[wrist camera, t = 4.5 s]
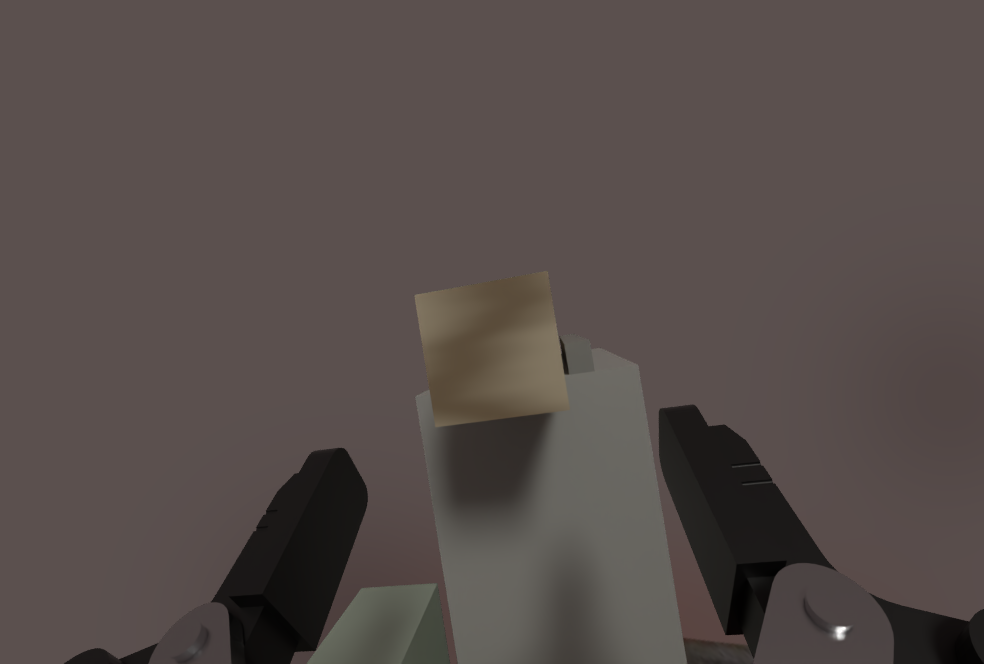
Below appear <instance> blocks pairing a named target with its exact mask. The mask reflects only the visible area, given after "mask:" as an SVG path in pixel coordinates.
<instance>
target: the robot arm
mask: <svg viewBox="0 0 984 664" xmlns="http://www.w3.org/2000/svg"><path fill="white" fill-rule="evenodd" d="M659 456H660V463H661V468H662V472H663V475H664V478H665V481H666V484H667V487H668V489H669V491H670V494H671V497H672V499H673V502H674V504H675V507H676V510H677V512H678V514H679V517H680V520H681V522H682V525H683V527H684V530H685V533H686V535H687V537H688V540H689V543H690V545H691V548H692V550H693V553H694V555H695V558H696V560H697V563H698V566H699V568H700V571H701V573H702V576H703V578H704V581H705V584H706V586H707V589H708V591H709V594H710V596H711V599H712V601H713V604H714V607H715V609H716V612H717V614H718V617H719V619H720V622H721V624H722V627H723V629H724V632H725V635H740V634H744V637H745V639H746V641H747V644H748V646H749V648H750V651H751V653H752V656H753V658H754V661H753V664H984V609H983V610H980V611H979V612H977V613H976V614H975V615H974V616H973V618H972V619H971V620H970V621H969V622H968V621H964V620H960V619H956V618H952V617H947V616H943V615H939V614H935V613H931V612H927V611H922V610H918V609H914V608H909V607H905V606H901V605H898V604H895V603H891V602H888V601H886V600H883V599H880V598H878V597H876V596H874V595H872V594H870V593H868V592H867V591H865V589H864V588H862V587H861V586H859V585H858V584H857V583H856V582H855V581H853V580H851V579H850V578H848V577H847V576H845V575H843V574H841V573H839V572H838V571H837V570H836V569H835V568H834V567H832V565H831V564H830V563H829V562H828V561H827V559H826V558H825V557H824V555H823V554H822V553H821V551H820V550H819V548H818V547H817V545H816V544H815V542H814V541H813V539H812V538H811V536H810V535H809V534H808V532H807V530H806V529H805V527H804V526H803V525H802V523H801V521H800V520H799V519H798V517H797V516H796V514H795V513H794V511H793V510H792V508H791V507H790V505H789V504H788V502H787V501H786V499H785V498H784V496H783V495H782V493H781V492H780V490H779V489H778V487H777V486H776V484H773V482H772V478H771V477H770V475H769V474H768V472H767V471H766V469H765V468H764V466H761V464H760V460H759V459H758V457H757V456H756V454H755V453H754V451H753V450H752V448H751V447H750V446H749V444H748V443H747V441H746V440H745V439H743V438H742V437H740V436H739V435H738V434H737V433H735V432H734V431H733V430H731V429H730V428H728V427H727V426H726V425H718V426H708V425H707V423H706V422H705V420H704V418H703V416H702V415H701V413H700V411H699V410H698V408H697V407H696V406H695V405H685V406H678V407H670V408H662V409H660V410H659ZM367 502H368V494H367V488H366V485H365V483H364V481H363V479H362V477H361V476H360V474H359V472H358V471H357V468H356V467H355V465H354V463H353V461H352V460H351V458H350V456H349V454H348V452H347V451H346V450H345V449H344V448H335V449H327V450H318V451H314V452H312V453H311V454H310V455H309V456H308V458H307V459H306V461H305V463H304V465H303V467H302V468H301V470H300V472H299V473H297V474H294V475H293V476H292V477H291V478H290V479H289V480H288V481H287V483H285V485H283V486H282V487H281V489H280V490H279V491H278V492H277V494H276V495H275V497H274V498H273V500H272V502H271V503H270V505H269V507H268V508H267V510H266V515H263V517H262V519H261V520H260V522H259V524H258V525H257V527H256V528H257V530H256V531H254V532H253V534H252V535H251V537H250V539H249V540H248V542H247V544H246V545H245V547H244V549H243V550H242V552H241V554H240V555H239V557H238V559H237V560H236V562H235V564H234V566H233V567H232V569H231V570H230V572H229V574H228V575H227V577H226V579H225V580H224V582H223V584H222V585H221V587H220V589H219V590H218V592H217V594H216V595H215V597H214V598H213V600H212V601H211V603H207V604H204V605H201V606H199V607H197V608H195V609H193V610H192V611H190V612H189V613H187V614H186V615H184V616H183V617H182V618H181V619H180V620H178V621H177V622H176V623H175V624H174V625H173V626H172V627H171V628H170V629H169V630H168V632H167V633H166V634H165V635H164V636H163V638H162V639H161V641H160V642H159V643H157V644H155V645H152V646H150V647H148V648H145V649H143V650H140V651H138V652H136V653H133V654H131V655H128V656H126V657H124V658H121V659H117V658H116V657H114V656H113V655H111V654H110V653H108V652H107V651H105V650H103V649H100V648H99V649H98V648H97V649H96V648H95V649H91V650H88V651H85V652H83V653H81V654H79V655H77V656H75V657H73V658H72V659H70V660H69V661H67V662H66V663H64V664H290V663H291V660H292V657H293V655H294V652H300V651H315V650H316V648H317V645H318V642H319V639H320V637H321V634H322V631H323V628H324V625H325V622H326V620H327V617H328V614H329V611H330V609H331V606H332V603H333V600H334V597H335V595H336V592H337V589H338V586H339V583H340V581H341V578H342V575H343V572H344V569H345V567H346V564H347V561H348V558H349V556H350V553H351V550H352V547H353V544H354V542H355V539H356V536H357V533H358V530H359V527H360V525H361V522H362V519H363V516H364V514H365V511H366V507H367Z"/></svg>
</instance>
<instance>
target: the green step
mask: <svg viewBox="0 0 984 664" xmlns="http://www.w3.org/2000/svg"><path fill="white" fill-rule="evenodd" d="M307 664H450V660H449V654H448V647H447V641H446V635H445V628H444V622H443V616H442V609H441V603H440V597H439V590H438V584H437V583H434V584H419V585H404V586H390V587H374V588H362V589H361V590H360V592H359V593H358V594H357V596H356V597H355V598H354V600H353V601H352V602H351V604H350V605H349V607H348V608H347V609H346V611H345V612H344V613H343V615H342V616H341V617H340V619H339V620H338V622H337V623H336V624H335V626H334V627H333V628H332V630H331V631H330V633H329V634H328V635H327V637H326V638H325V639H324V641H323V642H322V644H321V645H320V646H319V648H318V649H317V650H316V652H315V653H314V655H313V656H312V657H311V659H310V660H309V661H308V663H307Z"/></svg>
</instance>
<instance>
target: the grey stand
mask: <svg viewBox="0 0 984 664" xmlns="http://www.w3.org/2000/svg"><path fill="white" fill-rule="evenodd" d="M560 343H561V349H562V354H561V357H562V363H563V369H564V375H565V382H566V388H567V394H568V400H569V406H570V410H566V411H558V412H551V413H543V414H535V415H527V416H519V417H512V418H504V419H496V420H488V421H480V422H473V423H465V424H457V425H449V426H441V427H435V421H434V415H433V409H432V402H431V396H430V390H427V391H425V392H423V393H421V394H419V395H418V396H416V402H417V409H418V415H419V421H420V428H421V434H422V441H423V447H424V453H425V460H426V466H427V472H428V479H429V485H430V491H431V498H432V503H433V510H434V517H435V523H436V529H437V536H438V542H439V548H440V554H441V561H442V567H443V573H444V579H445V586H446V592H447V599H448V605H449V611H450V618H451V624H452V630H453V637H454V643H455V649H456V656H457V662H458V664H687V660H686V654H685V648H684V642H683V636H682V630H681V624H680V617H679V612H678V605H677V600H676V593H675V587H674V581H673V575H672V569H671V563H670V557H669V550H668V544H667V538H666V532H665V526H664V520H663V514H662V508H661V502H660V496H659V490H658V484H657V478H656V471H655V466H654V459H653V453H652V447H651V441H650V435H649V429H648V423H647V417H646V410H645V404H644V398H643V392H642V386H641V380H640V374H639V368H638V365H637V364H635V363H632V362H630V361H628V360H626V359H623V358H621V357H619V356H617V355H615V354H612V353H610V352H608V351H606V350H604V349H601V348H597V349H591V345H590V340H588V339H585V338H583V337H580V336H577V335H575V334H571V335H565V336H560Z"/></svg>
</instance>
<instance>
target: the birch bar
mask: <svg viewBox="0 0 984 664" xmlns="http://www.w3.org/2000/svg"><path fill="white" fill-rule="evenodd" d="M415 301H416V308H417V314H418V320H419V326H420V333H421V339H422V346H423V352H424V358H425V364H426V371H427V377H428V383H429V390H430V396H431V402H432V409H433V415H434V421H435V427H441V426H449V425H457V424H465V423H473V422H480V421H488V420H496V419H504V418H512V417H519V416H527V415H535V414H543V413H551V412H558V411H566V410H570V406H569V400H568V394H567V388H566V382H565V375H564V369H563V363H562V357H561V351H560V345H559V338H558V332H557V326H556V320H555V314H554V308H553V302H552V295H551V289H550V283H549V277H548V271H545V272H540V273H534V274H528V275H523V276H517V277H512V278H507V279H501V280H495V281H490V282H484V283H479V284H473V285H468V286H462V287H457V288H451V289H446V290H440V291H435V292H429V293H424V294H418V295H415Z"/></svg>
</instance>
